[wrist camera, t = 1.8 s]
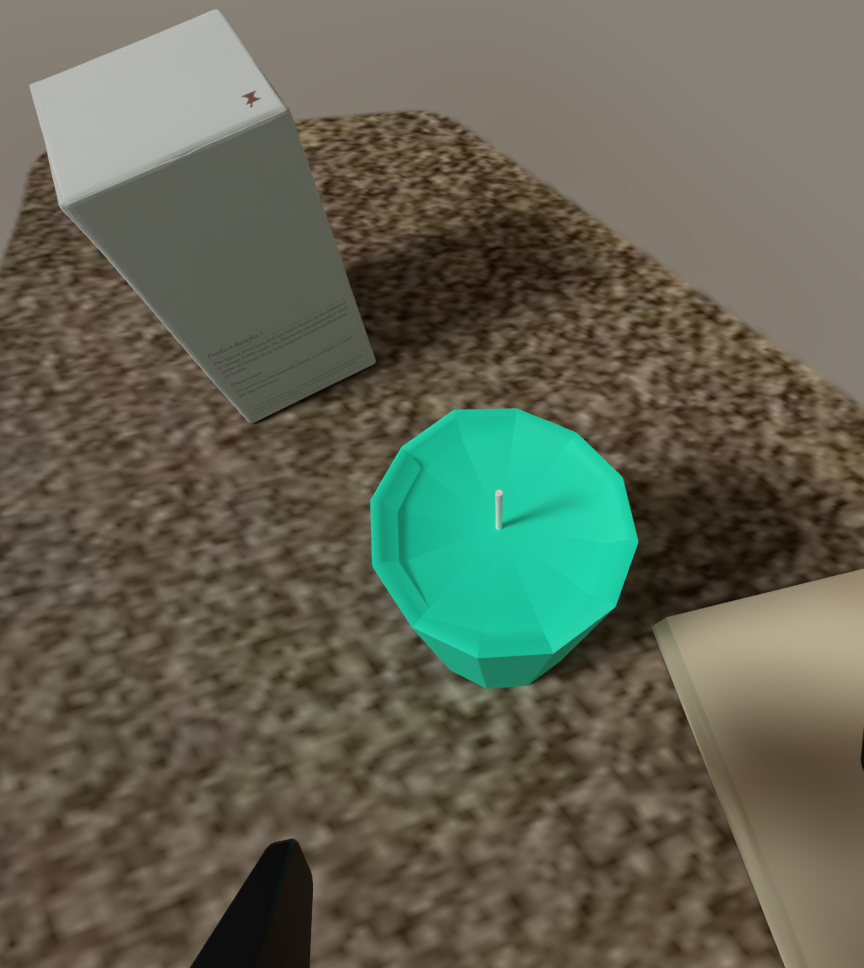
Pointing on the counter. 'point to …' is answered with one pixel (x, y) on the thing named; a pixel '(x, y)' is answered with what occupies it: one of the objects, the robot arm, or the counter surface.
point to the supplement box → (207, 210)
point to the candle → (501, 542)
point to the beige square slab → (786, 751)
